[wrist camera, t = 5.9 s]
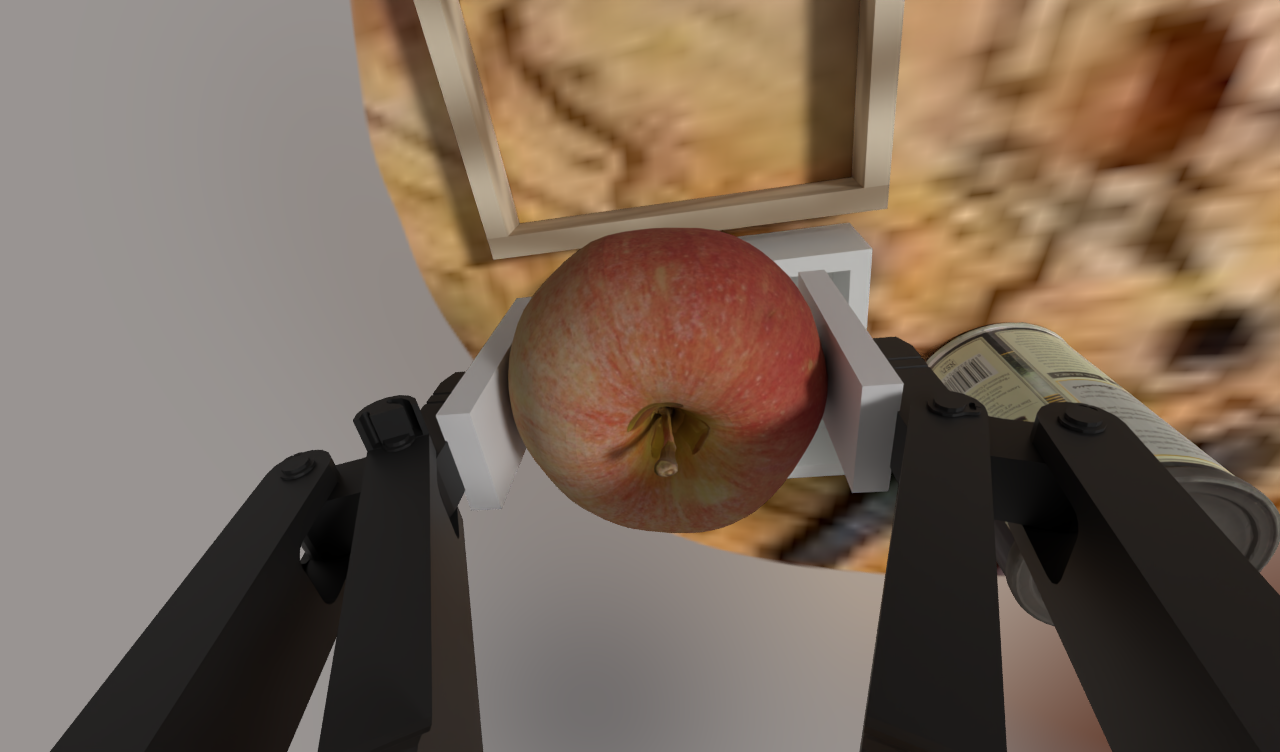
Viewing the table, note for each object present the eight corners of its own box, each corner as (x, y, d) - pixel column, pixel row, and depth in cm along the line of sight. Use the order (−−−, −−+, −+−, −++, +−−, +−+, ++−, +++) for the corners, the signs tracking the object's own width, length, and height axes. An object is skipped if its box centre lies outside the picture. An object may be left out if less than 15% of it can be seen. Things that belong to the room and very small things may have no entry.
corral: (420, -50, 25) (395, -58, 23) (897, -156, 22) (919, -177, 20) (506, 245, 33) (493, 259, 31) (873, 196, 30) (887, 208, 28)
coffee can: (1024, 459, 38) (1175, 648, 27) (883, 437, 38) (971, 616, 26) (1112, 334, 33) (1352, 501, 21) (948, 307, 33) (1096, 460, 21)
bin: (593, 255, 33) (580, 283, 29) (849, 222, 31) (872, 248, 27) (632, 446, 40) (627, 488, 37) (839, 430, 38) (856, 474, 34)
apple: (594, 143, 15) (515, 212, 8) (847, 256, 16) (973, 406, 9) (516, 373, 19) (417, 554, 12) (723, 452, 20) (744, 660, 13)
